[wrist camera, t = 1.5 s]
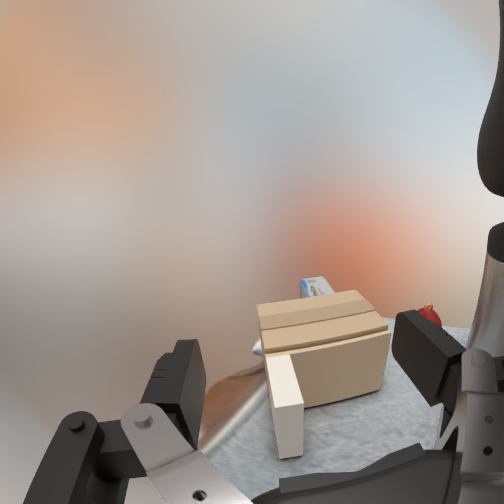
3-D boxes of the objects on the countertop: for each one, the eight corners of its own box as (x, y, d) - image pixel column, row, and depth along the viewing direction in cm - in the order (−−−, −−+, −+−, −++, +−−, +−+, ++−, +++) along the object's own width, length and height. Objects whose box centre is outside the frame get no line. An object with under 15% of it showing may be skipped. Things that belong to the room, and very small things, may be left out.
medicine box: (337, 342, 42) (338, 294, 40) (310, 347, 42) (309, 299, 40) (324, 318, 50) (323, 275, 47) (300, 322, 50) (298, 278, 47)
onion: (413, 364, 33) (423, 317, 31) (396, 343, 39) (402, 299, 36) (442, 353, 33) (453, 308, 31) (423, 335, 39) (431, 292, 37)
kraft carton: (351, 346, 40) (355, 288, 38) (377, 387, 31) (388, 323, 28) (263, 362, 40) (256, 303, 37) (271, 410, 30) (264, 347, 28)
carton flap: (378, 386, 30) (389, 329, 28) (402, 426, 23) (423, 369, 21) (271, 409, 30) (265, 354, 27) (279, 459, 23) (274, 407, 20)
